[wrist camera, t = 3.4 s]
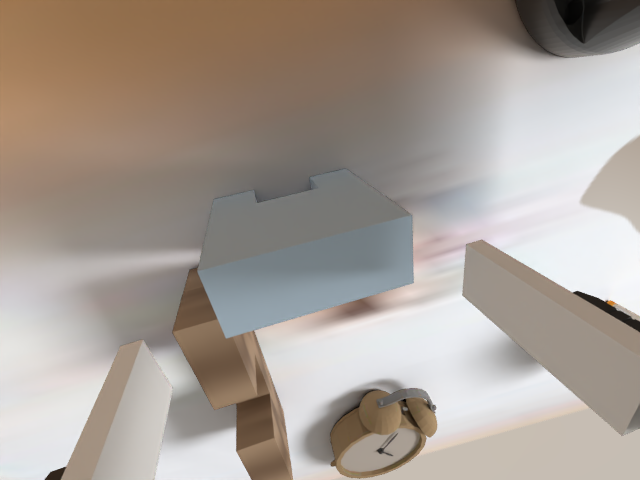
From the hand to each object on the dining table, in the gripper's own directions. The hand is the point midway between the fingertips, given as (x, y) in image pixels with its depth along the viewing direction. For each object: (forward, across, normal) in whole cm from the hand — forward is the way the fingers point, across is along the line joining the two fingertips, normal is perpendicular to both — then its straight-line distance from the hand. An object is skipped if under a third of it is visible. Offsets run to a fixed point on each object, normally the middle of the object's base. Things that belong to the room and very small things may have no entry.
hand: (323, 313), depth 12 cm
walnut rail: (+13, -6, -13) cm, 19 cm away
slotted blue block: (+12, 0, 0) cm, 13 cm away
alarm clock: (+13, +6, -30) cm, 33 cm away
